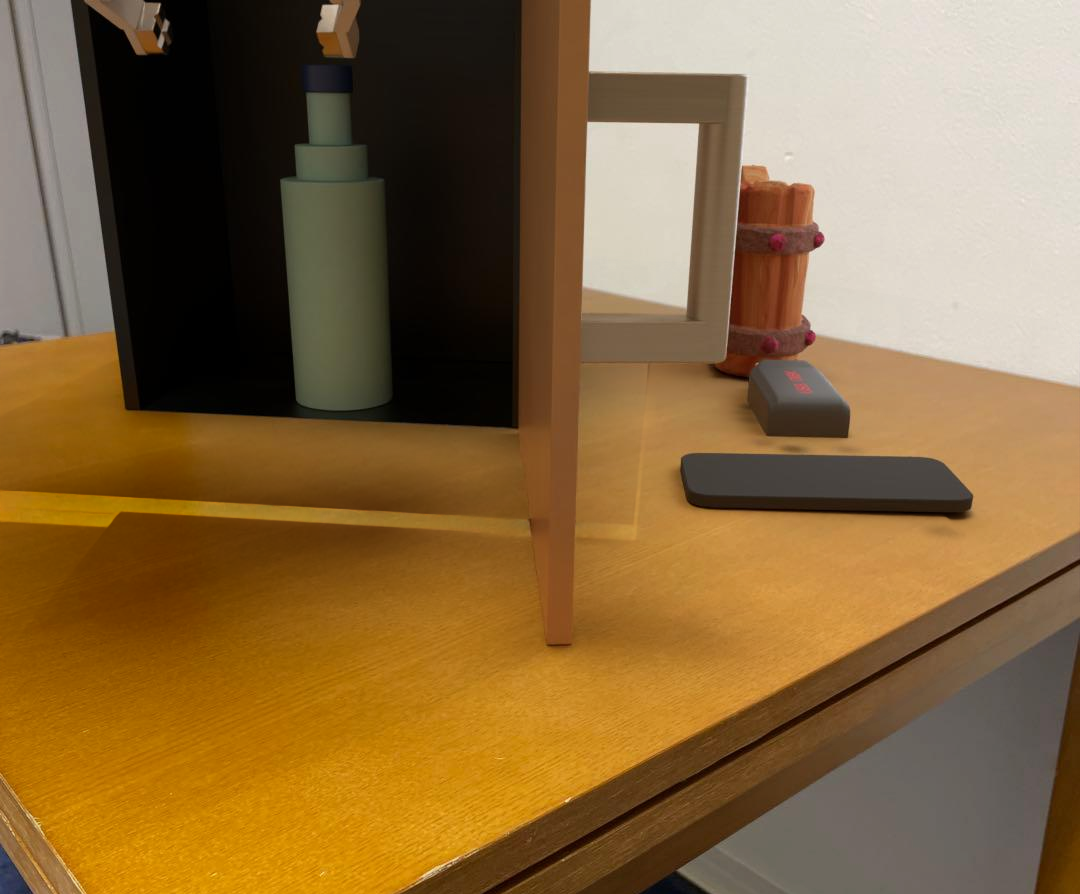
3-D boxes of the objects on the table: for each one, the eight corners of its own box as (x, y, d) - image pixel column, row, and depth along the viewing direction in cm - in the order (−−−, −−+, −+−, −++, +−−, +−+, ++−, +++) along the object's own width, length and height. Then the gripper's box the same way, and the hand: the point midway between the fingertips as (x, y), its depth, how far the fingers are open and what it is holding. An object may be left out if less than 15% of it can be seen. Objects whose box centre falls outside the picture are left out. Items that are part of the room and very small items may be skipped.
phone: (679, 451, 64) (938, 456, 63) (678, 465, 64) (936, 470, 64) (689, 495, 57) (980, 501, 57) (688, 510, 57) (977, 516, 57)
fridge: (527, 444, 68) (534, -159, 56) (127, 424, 70) (49, -156, 58) (556, 374, 84) (566, -102, 72) (231, 360, 87) (187, -102, 75)
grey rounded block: (766, 437, 70) (770, 395, 69) (740, 389, 81) (743, 352, 80) (848, 439, 70) (853, 397, 69) (810, 391, 81) (815, 354, 80)
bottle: (282, 408, 71) (256, 63, 63) (312, 384, 77) (291, 65, 69) (379, 413, 70) (365, 64, 62) (402, 388, 76) (391, 66, 68)
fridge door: (628, 444, 68) (657, -155, 55) (717, 642, 44) (802, -337, 31) (518, 445, 67) (523, -159, 55) (546, 645, 43) (566, -347, 31)
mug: (820, 388, 82) (844, 176, 76) (711, 386, 82) (727, 175, 76) (779, 345, 95) (797, 163, 90) (686, 344, 95) (698, 162, 89)
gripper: (417, -308, 41) (466, 2, 54) (-93, -298, 43) (70, -2, 56) (393, -196, 39) (450, 100, 51) (-146, -191, 41) (37, 93, 53)
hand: (249, 47), depth 54 cm, fingers open, 8 cm apart
